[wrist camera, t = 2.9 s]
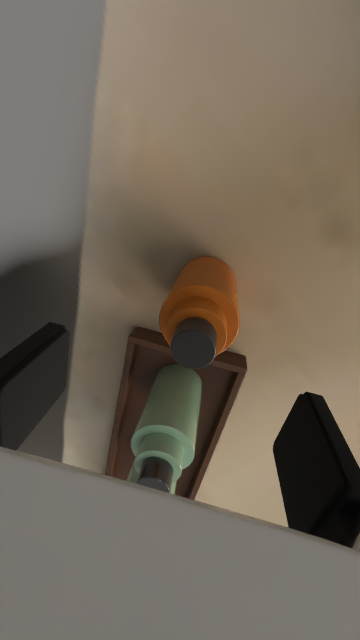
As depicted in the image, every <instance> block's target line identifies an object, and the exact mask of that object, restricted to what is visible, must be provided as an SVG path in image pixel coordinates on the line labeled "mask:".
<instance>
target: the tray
mask: <svg viewBox="0 0 360 640" xmlns="http://www.w3.org/2000/svg"><path fill="white" fill-rule="evenodd" d="M171 364H178V363H177V362H176V361H175V359H174V358H173V356H172V354H171V350H170V346H169V344H168V342H167V341H166V340H165V338H164V336H163V334H162V333H158V332H155V331H151V330H147V329H144V328H140V327H137V326H136V327H135V328H134V330H133V331H132V333H131V334H130V336H129V339H128V345H127V351H126V357H125V363H124V368H123V374H122V380H121V386H120V392H119V398H118V403H117V409H116V415H115V421H114V427H113V433H112V438H111V444H110V450H109V456H108V462H107V467H106V473H105V475H107V476H111V477H114V478H118V479H121V480H125V481H126V479H127V476H128V473H129V470H130V467H131V464H132V461H133V458H134V456H135V455H134V454H133V451H132V448H131V439H132V436H133V433H134V431H135V428H136V426H137V423H138V420H139V418H140V415H141V413H142V410H143V407H144V405H145V402H146V400H147V397H148V394H149V392H150V389H151V387H152V384H153V381H154V379H155V376H156V374H157V373H158V371H159V370H160V369H162V368H163V367H165V366H167V365H171ZM193 370H194V371H195V372H196V373H197V374H198V375H199V377H200V378H201V381H202V386H203V387H202V396H201V405H200V413H199V421H198V430H197V438H196V446H195V455H194V459H193V461H192V462H191V464H190V465H189V466H187V467H186V468H184V469H183V470H182V473H181V476H180V477H179V479H178V480H177V485H176V491H175V495H178V496H181V497H185V498H188V499H192V500H194V499H195V496H196V494H197V492H198V489H199V487H200V484H201V482H202V479H203V477H204V475H205V472H206V470H207V467H208V465H209V462H210V460H211V457H212V455H213V453H214V450H215V448H216V445H217V443H218V440H219V438H220V435H221V433H222V431H223V428H224V426H225V423H226V421H227V418H228V416H229V413H230V411H231V409H232V406H233V404H234V401H235V399H236V396H237V394H238V391H239V389H240V387H241V384H242V382H243V379H244V377H245V374H246V372H247V362H246V357H245V356H241V355H238V354H234V353H230V352H227V351H223V352H222V353H220V354H218V355H217V356H215V358H214V359H213V361H212V362H211V363H210V364H209V365H207V366H206V367H204V368H200V369H193Z"/></svg>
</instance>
